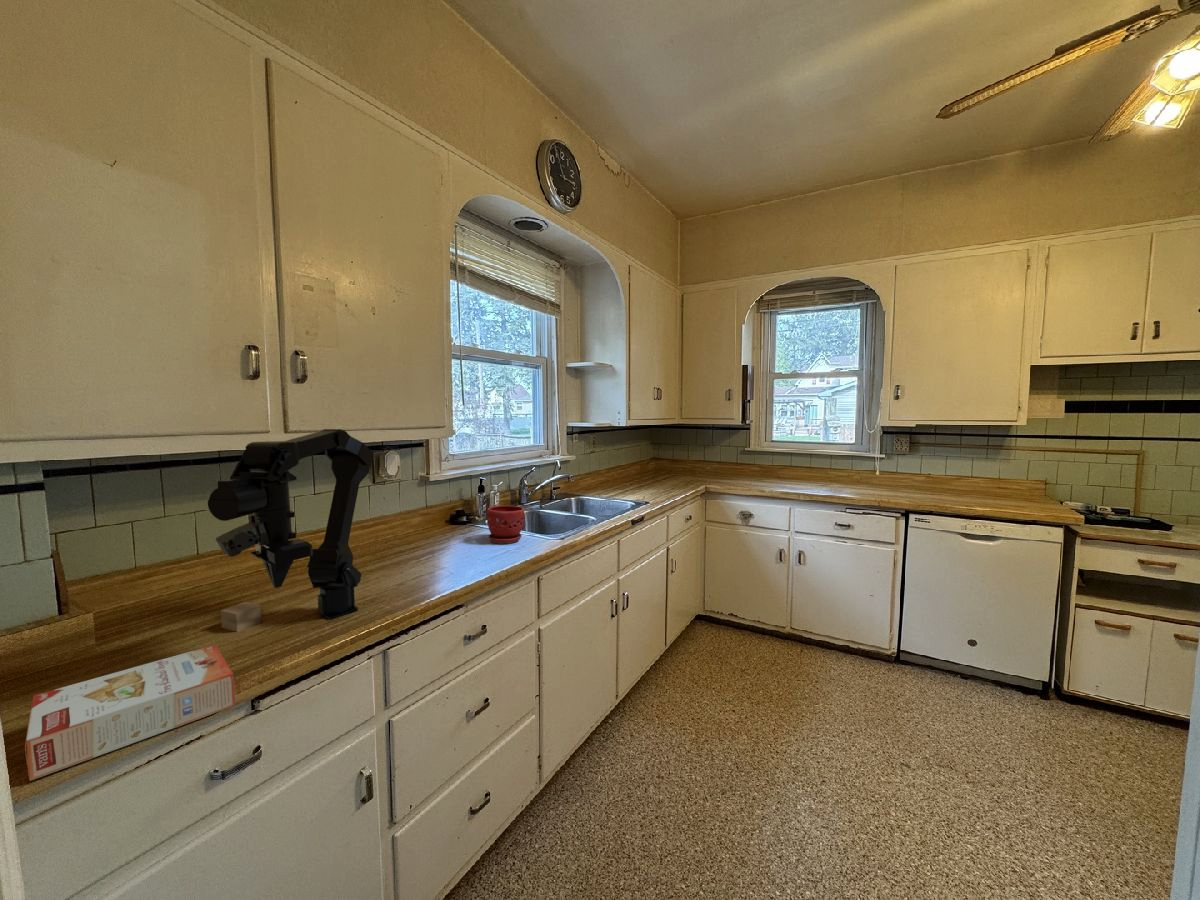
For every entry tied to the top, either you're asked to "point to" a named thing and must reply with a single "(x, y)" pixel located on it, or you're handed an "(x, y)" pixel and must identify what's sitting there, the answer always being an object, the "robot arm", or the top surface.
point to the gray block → (241, 616)
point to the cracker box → (124, 708)
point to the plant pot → (505, 523)
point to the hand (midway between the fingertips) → (277, 586)
